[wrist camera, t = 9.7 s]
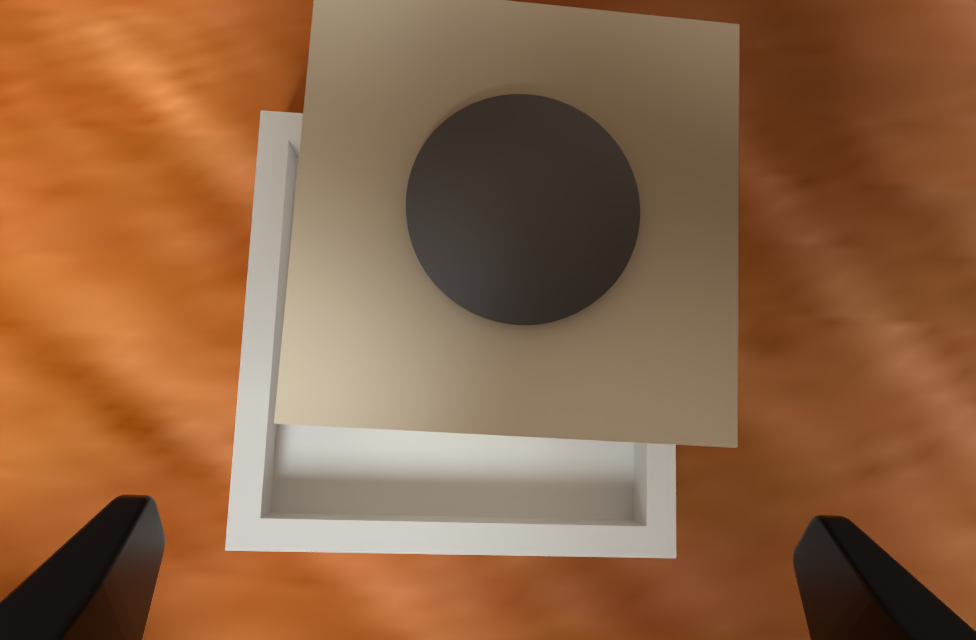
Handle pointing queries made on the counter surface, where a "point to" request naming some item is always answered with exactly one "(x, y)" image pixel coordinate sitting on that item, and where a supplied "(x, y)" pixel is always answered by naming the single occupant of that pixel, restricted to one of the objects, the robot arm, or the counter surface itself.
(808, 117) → the counter surface
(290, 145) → the tray
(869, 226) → the counter surface
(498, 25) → the beech block
